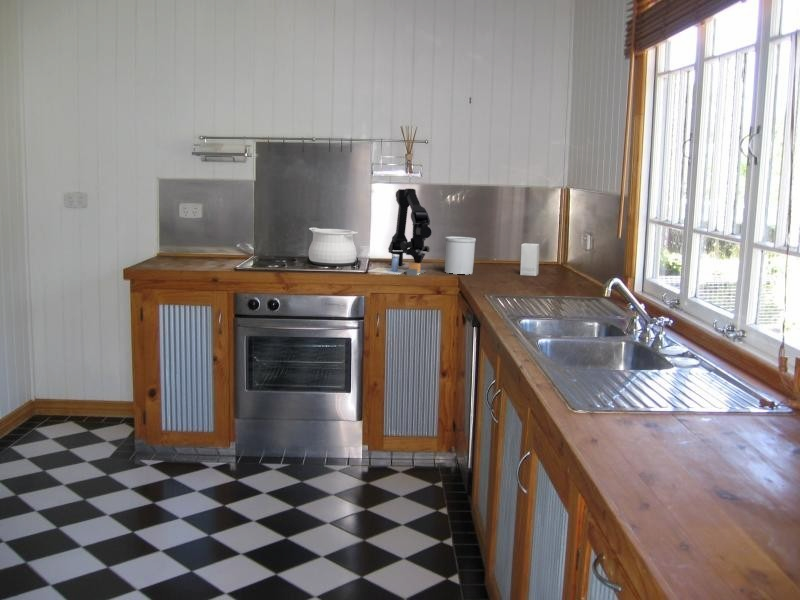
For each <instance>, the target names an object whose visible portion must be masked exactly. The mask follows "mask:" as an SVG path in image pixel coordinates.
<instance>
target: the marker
mask: <svg viewBox="0 0 800 600" xmlns="http://www.w3.org/2000/svg"><path fill="white" fill-rule="evenodd" d="M391 263H392V265H391V268H390V269H391V271H393V272H398V269H399V265H398V263H399V254H392V253H391Z"/></svg>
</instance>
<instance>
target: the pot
mask: <svg viewBox="0 0 800 600" xmlns="http://www.w3.org/2000/svg"><path fill="white" fill-rule="evenodd" d="M308 230H309V231H311V232H312V241H311V243H310V245H309V247H308V248H309V249H308V258H309V261H310V262H311V263H312V264H313V265H316V266H322V265H324V266H323V267H349V266H352V265H354V263H355V262H356V259H357V248H356V245H355V243H354V236H355V235H356V234H359V231H355V230H350V229H343V228H341V229H340V228H319V227H309V228H308Z"/></svg>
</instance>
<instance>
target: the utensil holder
mask: <svg viewBox="0 0 800 600" xmlns="http://www.w3.org/2000/svg"><path fill="white" fill-rule="evenodd" d="M476 241H477V239H476V238H475V237H468V236H445V251H444V253H445V255H444V257H445V259H444V273H445V272H446V274H449V273H453V274H452V275H457V274H465V276H466V275H469V274H470V275H473V270H474V264H475V251H476V250H475V248H476V243H477V242H476Z"/></svg>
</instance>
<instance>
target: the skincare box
mask: <svg viewBox="0 0 800 600" xmlns="http://www.w3.org/2000/svg"><path fill="white" fill-rule="evenodd" d="M520 249H521V250H520V271H519V272H520V274H519V275H520V276H528V277H529V276H530V277H536V276H538V275H539V268H540V267H539V265H540V243H529V242H528V243H522V244H521V245H520Z"/></svg>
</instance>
